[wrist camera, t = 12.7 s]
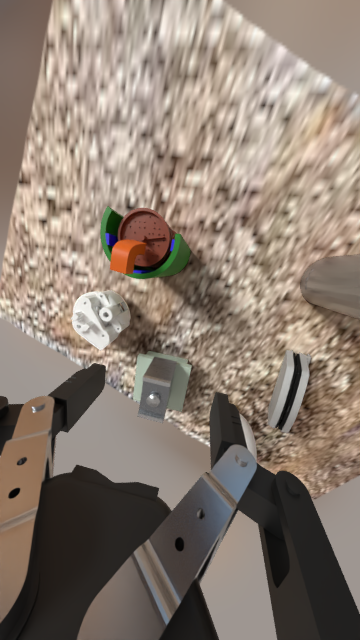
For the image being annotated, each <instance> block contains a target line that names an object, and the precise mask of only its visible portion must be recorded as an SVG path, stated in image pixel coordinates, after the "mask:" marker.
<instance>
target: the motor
mask: <svg viewBox="0 0 360 640" xmlns="http://www.w3.org/2000/svg"><path fill="white" fill-rule="evenodd" d="M101 242H102V246H103V249H104V252H105V254H106V256H107V258H108V259H109V261H110V262H111V264H110V269H111V270H114V271H117V272H121V273H123V274H125V275H127V276H129V277H132V278H137V279H147V278H155V277H164V276H171V275H175V274H177V273H179V272H180V271H181V270H182V269H183V268H184V267H185V266H186V264H187V263H188V260H189V257H190V248H189V247H188V245H187V244H186V242H185V240H184V239H183V237H182V236H181V234H177V233H176V232H174V231H173V230H172V229H171V228H170V227H169V226H168V224H167V223H166V222H165V220H164V219H163V218H162V217H161V216H160V215H159V214H158V213H157V212H155V211H154V210H151V209H148V208H137V209H134V210H132V211H130V212H129V213H128V214H126V215H125V217H123V216H121V215H120V214H118V213H117V212H116V211H114V210H113V209H111V208H110V207H107V208H106V210H105V212H104V215H103V218H102V222H101ZM153 267H155V268H157V270H155V269H154V268H153Z"/></svg>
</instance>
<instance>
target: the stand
mask: <svg viewBox="0 0 360 640" xmlns="http://www.w3.org/2000/svg"><path fill="white" fill-rule="evenodd" d="M154 356H155V357H160V358H164V359H168V360H172V361H177V364H176V369H175V374H174V379H173V384H172V389H171V394H170V398H169V402H168V406H167V408H168V409H172V410H176V411H180V412H182V408H183V404H184V399H185V395H186V390H187V385H188V381H189V376H190V372H191V367H192V365H189V364H187V362H188V359H183V358H179V357H174V356H170V355H165V354H161V353H156V352H152V351H148V352H147V354H146V355H145V354H139V355H138V358H137V367H136V376H135V385H134V394H133V400H136V401H140V400H141V392H142V385H143V381H142V379H143V376H144V374H145V372H146V370H147V369H148V367H149V365H150V363H151V362H152V360H153V358H154Z"/></svg>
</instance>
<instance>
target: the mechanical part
mask: <svg viewBox="0 0 360 640" xmlns="http://www.w3.org/2000/svg"><path fill="white" fill-rule="evenodd" d="M120 303H121V304H122V306H123V308H124V310H125V311H123V309H122V307H121V305H120ZM71 319H72V320H73V321H72V324H73V328H74V329H75V331H77V333H78V334H79V335H81V336H82V337H83V338H85V339H86V340H87V341H88V342H90V343H91V344H92V345H94V346H95V347H96V348H98V349H99V350H100V351H101V350H103V349H104V348H105V347H106V346H108V345H109V344H110V343H111V342H113V341H114V340H115V339H116V338H117V337H118V335H119V334H120V332H121V331H122V330H124V329H125V328H126V327H128V326H129V325H130V319H131V315H130V311H129V308H128V306H127V304H126V302H125V300H124V299H123V298H122V297H121V296H120V295H119V294H118V293H116V292H114V291H113V290H109V291H104V292H98V291H96V292H89V293H86V294H84V295H82V296H80V297H79V298H78V299H77V301H76V303H75V305H74V308H73V316H72V318H71Z"/></svg>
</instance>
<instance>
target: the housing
mask: <svg viewBox="0 0 360 640" xmlns="http://www.w3.org/2000/svg"><path fill="white" fill-rule="evenodd" d="M176 364H177V361H172V360H168V359H164V358H160V357H155V356H154V358H153V360H152V362H151V363H150V365H149V367H148V369H147V370H146V372H145V374H144V376H143V379H142V381H143V385H142V392H141V400H140V407H139V412H138V417H141V418H145V419H149V420H153V421H156V422H160V423H163V420H164V417H165V413H166V409H167V406H168V402H169V398H170V394H171V389H172V384H173V379H174V374H175V369H176Z"/></svg>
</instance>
